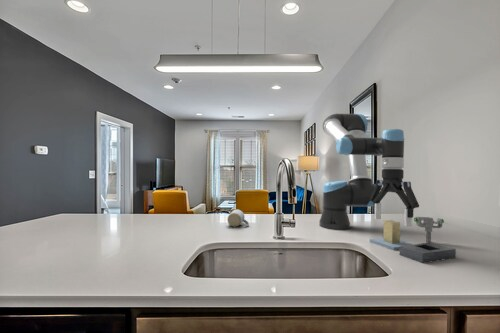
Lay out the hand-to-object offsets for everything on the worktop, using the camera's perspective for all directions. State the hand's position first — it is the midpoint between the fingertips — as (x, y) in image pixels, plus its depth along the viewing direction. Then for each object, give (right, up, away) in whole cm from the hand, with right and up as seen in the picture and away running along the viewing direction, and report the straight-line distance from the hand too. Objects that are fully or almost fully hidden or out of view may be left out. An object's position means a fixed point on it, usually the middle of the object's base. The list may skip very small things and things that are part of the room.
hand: (391, 222), depth 99 cm
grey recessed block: (+5, -9, -13) cm, 16 cm away
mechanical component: (+17, -9, +4) cm, 20 cm away
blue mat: (0, -9, 0) cm, 9 cm away
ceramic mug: (-62, -8, +28) cm, 69 cm away
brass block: (0, -8, 0) cm, 8 cm away
